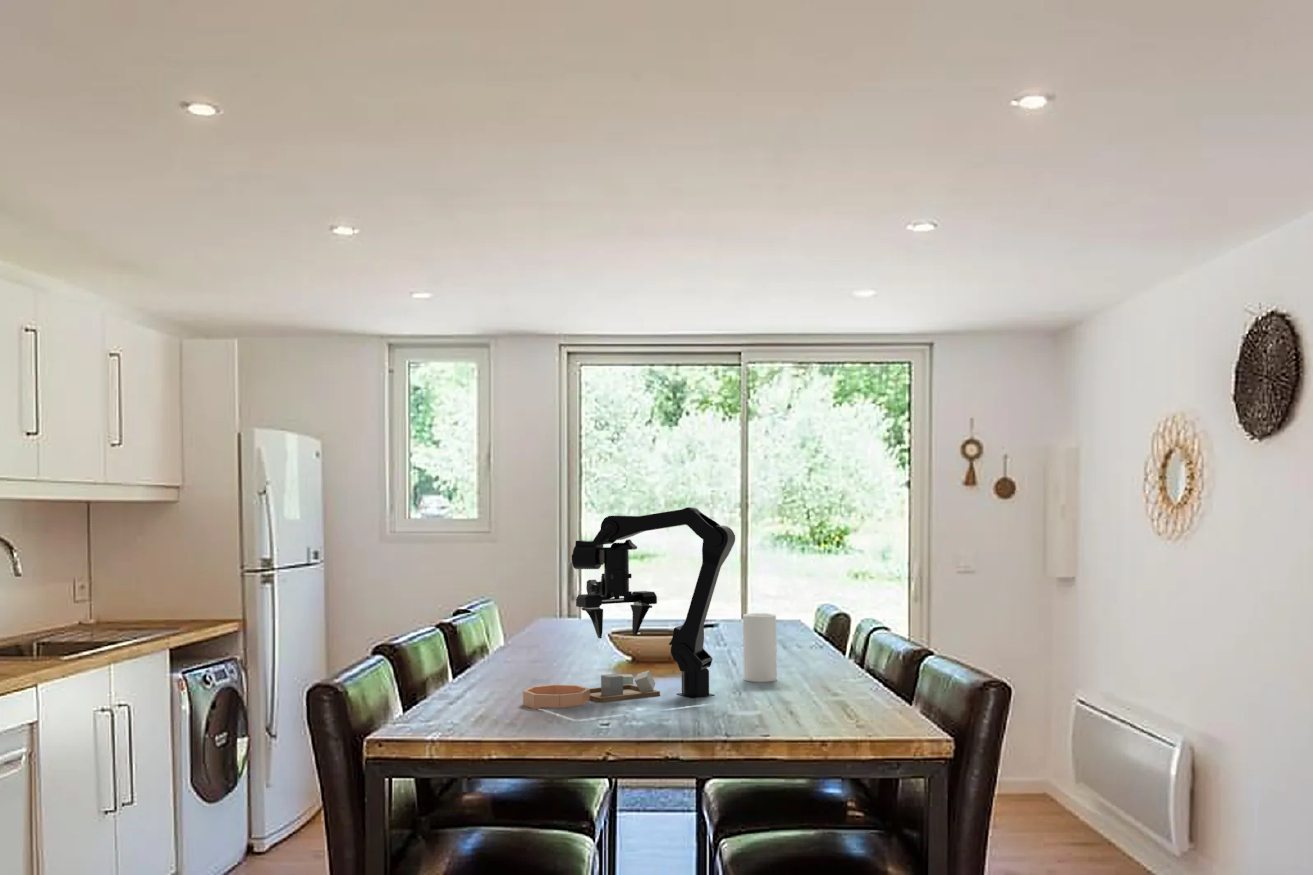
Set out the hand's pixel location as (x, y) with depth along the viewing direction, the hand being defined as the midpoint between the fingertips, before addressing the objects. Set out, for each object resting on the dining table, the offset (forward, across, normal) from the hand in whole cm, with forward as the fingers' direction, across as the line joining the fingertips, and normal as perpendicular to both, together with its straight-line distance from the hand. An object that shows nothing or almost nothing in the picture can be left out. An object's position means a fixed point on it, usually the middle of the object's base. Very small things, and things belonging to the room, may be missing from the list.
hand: (617, 636), depth 248 cm
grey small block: (+10, -2, +6) cm, 12 cm away
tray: (+13, +3, +5) cm, 14 cm away
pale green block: (+10, -6, -7) cm, 14 cm away
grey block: (+12, +4, +5) cm, 14 cm away
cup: (+13, -40, +1) cm, 42 cm away
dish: (+13, +18, +6) cm, 23 cm away
